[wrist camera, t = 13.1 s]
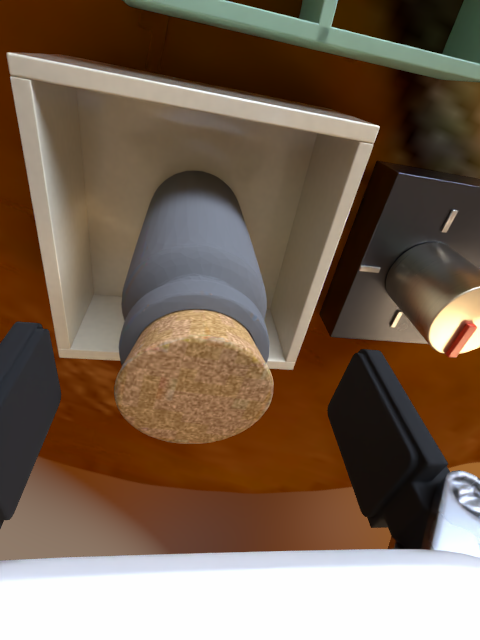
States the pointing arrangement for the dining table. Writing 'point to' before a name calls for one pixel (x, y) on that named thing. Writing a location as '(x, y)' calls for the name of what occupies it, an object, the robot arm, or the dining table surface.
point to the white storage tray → (165, 161)
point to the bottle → (193, 318)
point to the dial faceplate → (397, 246)
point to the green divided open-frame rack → (337, 34)
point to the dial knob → (438, 296)
